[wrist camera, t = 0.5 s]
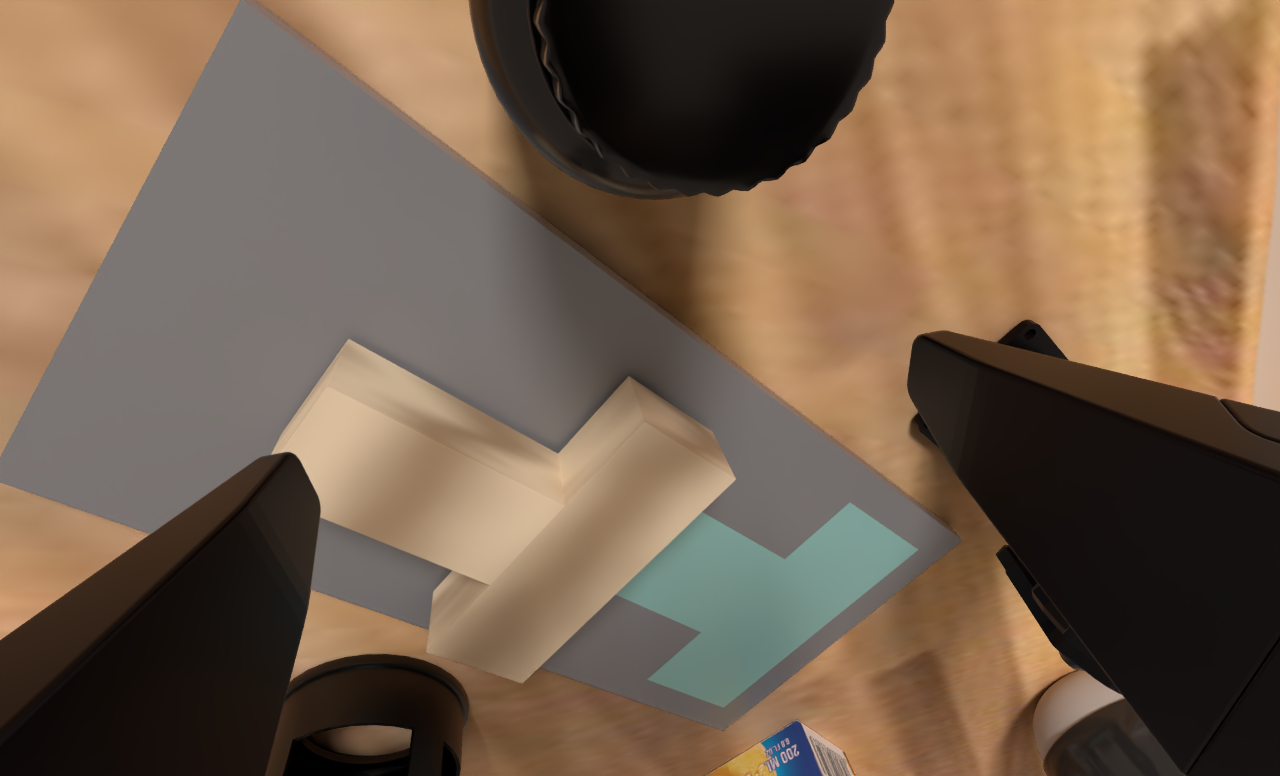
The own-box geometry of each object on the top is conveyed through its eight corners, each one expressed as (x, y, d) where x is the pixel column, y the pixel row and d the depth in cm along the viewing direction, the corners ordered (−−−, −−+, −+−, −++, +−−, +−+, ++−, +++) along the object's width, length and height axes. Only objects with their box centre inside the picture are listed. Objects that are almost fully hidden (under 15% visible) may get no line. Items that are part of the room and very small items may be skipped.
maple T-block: (710, 427, 25) (736, 479, 23) (520, 618, 29) (522, 683, 26) (421, 234, 19) (408, 273, 17) (228, 507, 23) (191, 576, 20)
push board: (950, 527, 33) (962, 540, 32) (718, 715, 38) (723, 731, 38) (254, -2, 16) (240, -1, 16) (9, 459, 22) (-12, 478, 21)
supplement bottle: (598, -228, 15) (781, -645, 5) (763, 3, 19) (1067, 8, 9) (428, 3, 17) (328, 9, 7) (606, 177, 21) (709, 346, 11)
